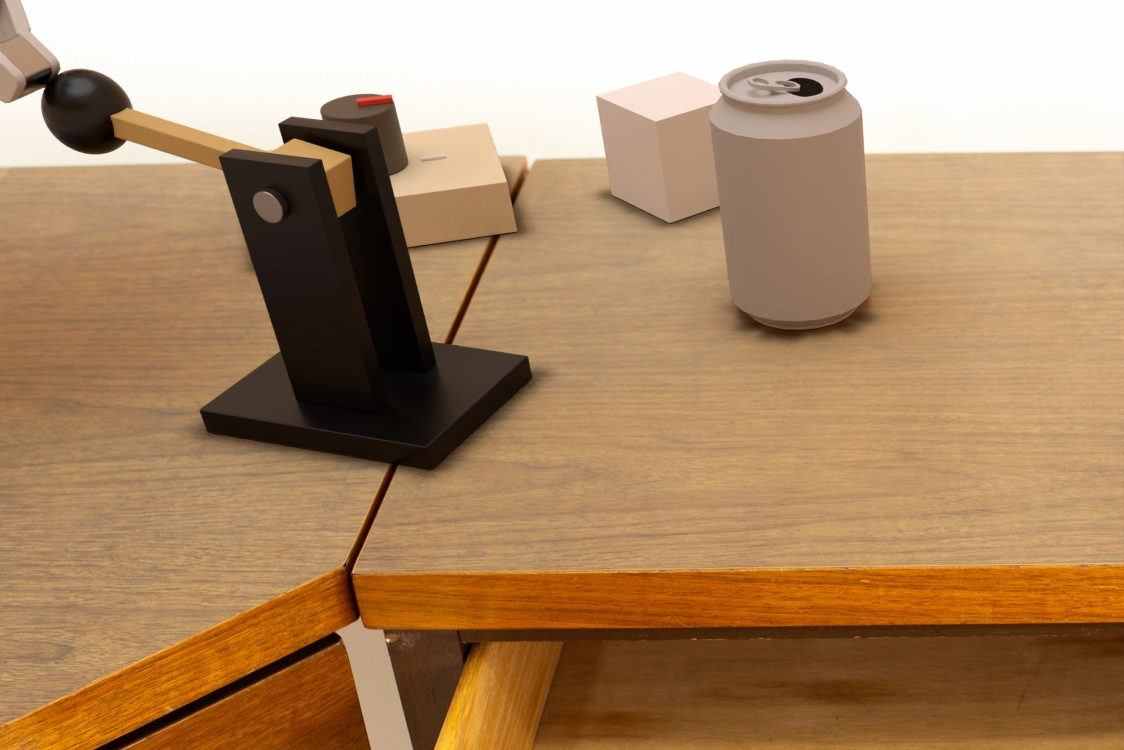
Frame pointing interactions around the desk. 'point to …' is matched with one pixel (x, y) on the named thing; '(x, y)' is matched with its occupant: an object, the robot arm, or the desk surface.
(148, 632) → the desk surface
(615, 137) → the pale pink cube
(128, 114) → the lever
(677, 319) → the desk surface
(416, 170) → the plate
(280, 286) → the bracket
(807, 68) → the can
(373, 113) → the lock knob
